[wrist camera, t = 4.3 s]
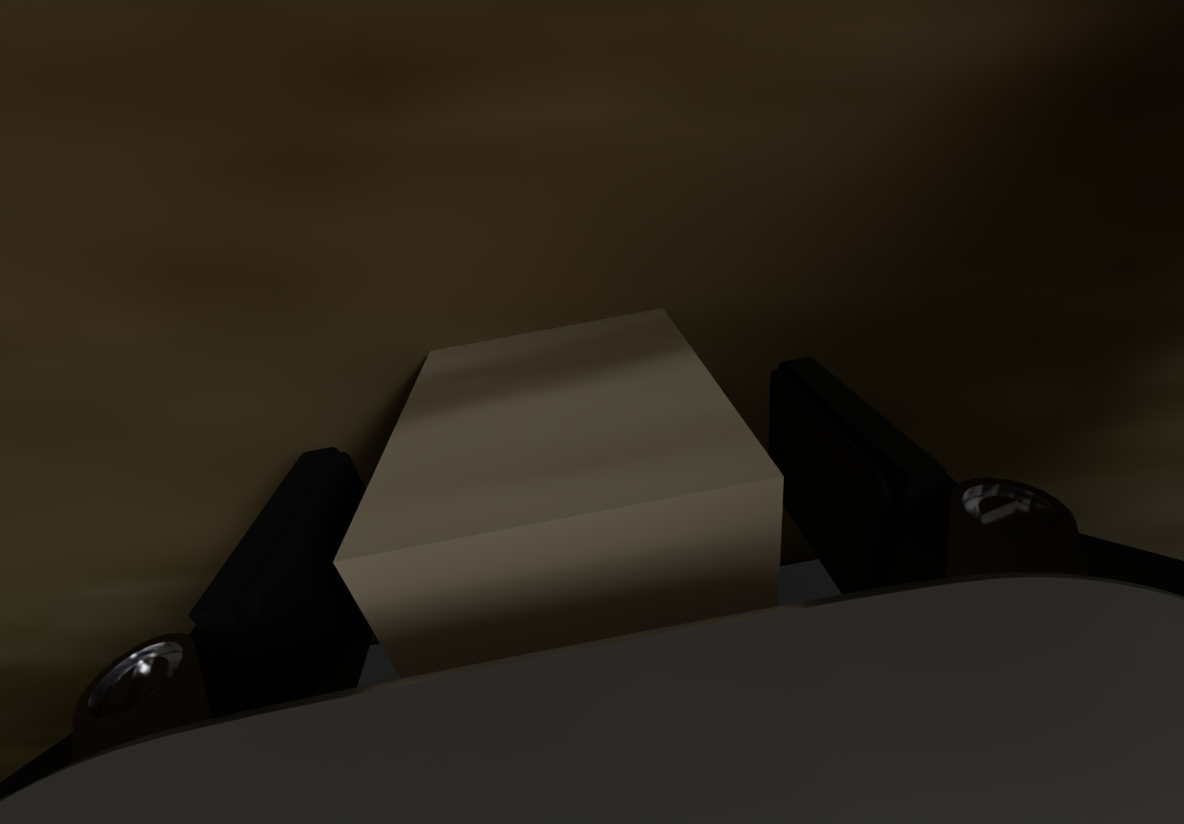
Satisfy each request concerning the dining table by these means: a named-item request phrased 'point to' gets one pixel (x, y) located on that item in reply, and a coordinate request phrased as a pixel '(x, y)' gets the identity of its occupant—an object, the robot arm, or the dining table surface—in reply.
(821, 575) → the chassis
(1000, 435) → the dining table surface
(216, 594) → the robot arm
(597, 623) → the tan cardboard box
